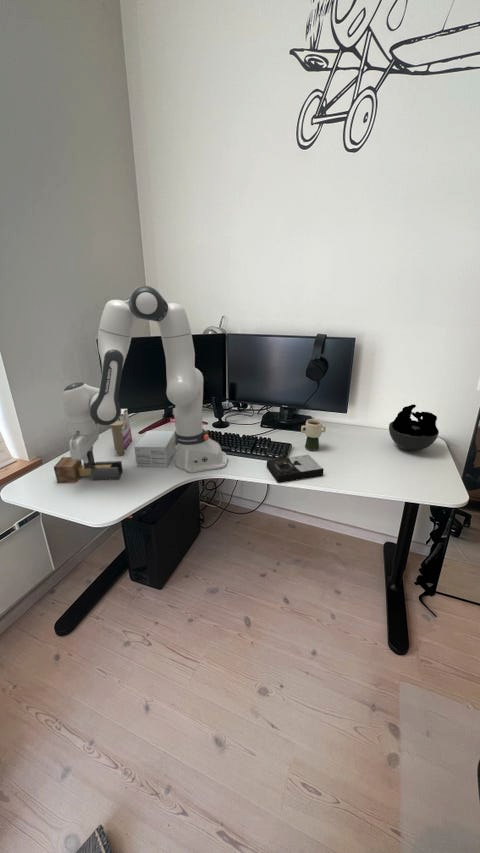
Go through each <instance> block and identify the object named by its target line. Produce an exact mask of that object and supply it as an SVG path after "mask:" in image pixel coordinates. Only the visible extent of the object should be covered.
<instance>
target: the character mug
mask: <svg viewBox="0 0 480 853" xmlns="http://www.w3.org/2000/svg"><path fill="white" fill-rule="evenodd" d="M326 428H327V426H326V425H323V421H321V420H319V419H315V418H311V419H307V420H306V422H305V425H301V428H300V432H301V433H304V434H305V436H306V439H305V440H306V441H305V445H304V447H305V449H307V450H308V451H309V450H310V451H317V450H318V449H320V438H319V437H321V435H322V433H326V430H327V429H326Z"/></svg>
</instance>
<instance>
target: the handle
mask: <svg viewBox="0 0 480 853" xmlns="http://www.w3.org/2000/svg"><path fill="white" fill-rule="evenodd" d="M107 426H108V428H110V429H111V428H112V429H113V435H114V441H113V445H115V447H114V450H115V449H116V450H115V452H116V455H117V456H124V454H125V450H124V441H123V436H122V432H121V427H123V426H124V422H122V421H116V422H115V423H113V424H111V425H107ZM113 435H112V436H113Z"/></svg>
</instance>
